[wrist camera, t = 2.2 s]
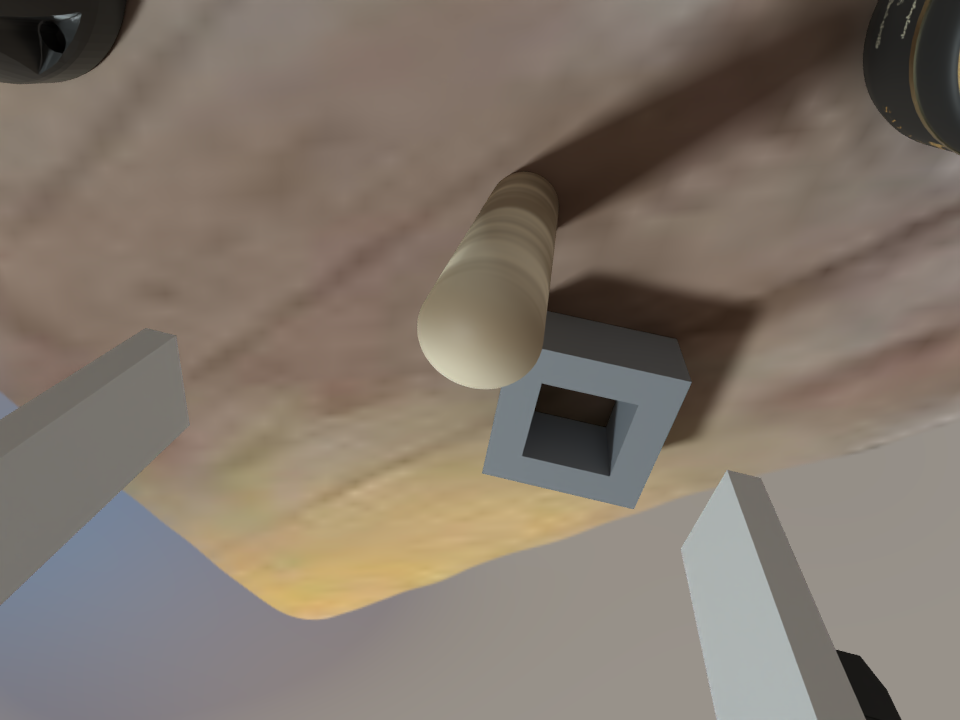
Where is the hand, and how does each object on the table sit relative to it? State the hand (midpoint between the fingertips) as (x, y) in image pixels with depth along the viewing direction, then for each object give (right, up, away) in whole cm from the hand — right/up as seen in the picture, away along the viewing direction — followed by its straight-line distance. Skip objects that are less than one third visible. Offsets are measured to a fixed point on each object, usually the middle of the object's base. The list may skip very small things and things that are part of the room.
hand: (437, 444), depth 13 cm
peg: (+4, +11, +17) cm, 21 cm away
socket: (+8, 0, +23) cm, 24 cm away
